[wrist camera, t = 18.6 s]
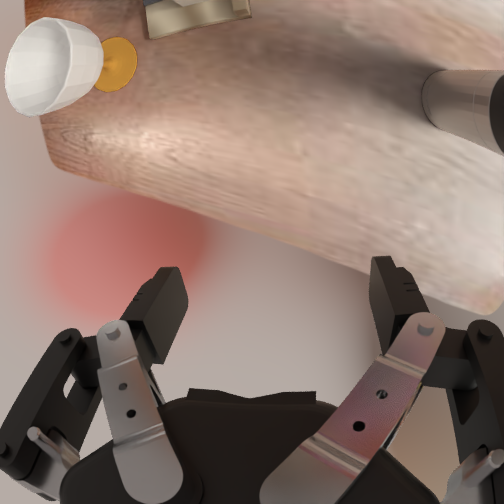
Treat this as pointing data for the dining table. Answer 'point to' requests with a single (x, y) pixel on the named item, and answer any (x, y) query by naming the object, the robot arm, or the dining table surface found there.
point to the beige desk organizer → (192, 15)
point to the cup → (63, 65)
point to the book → (188, 2)
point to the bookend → (150, 2)
